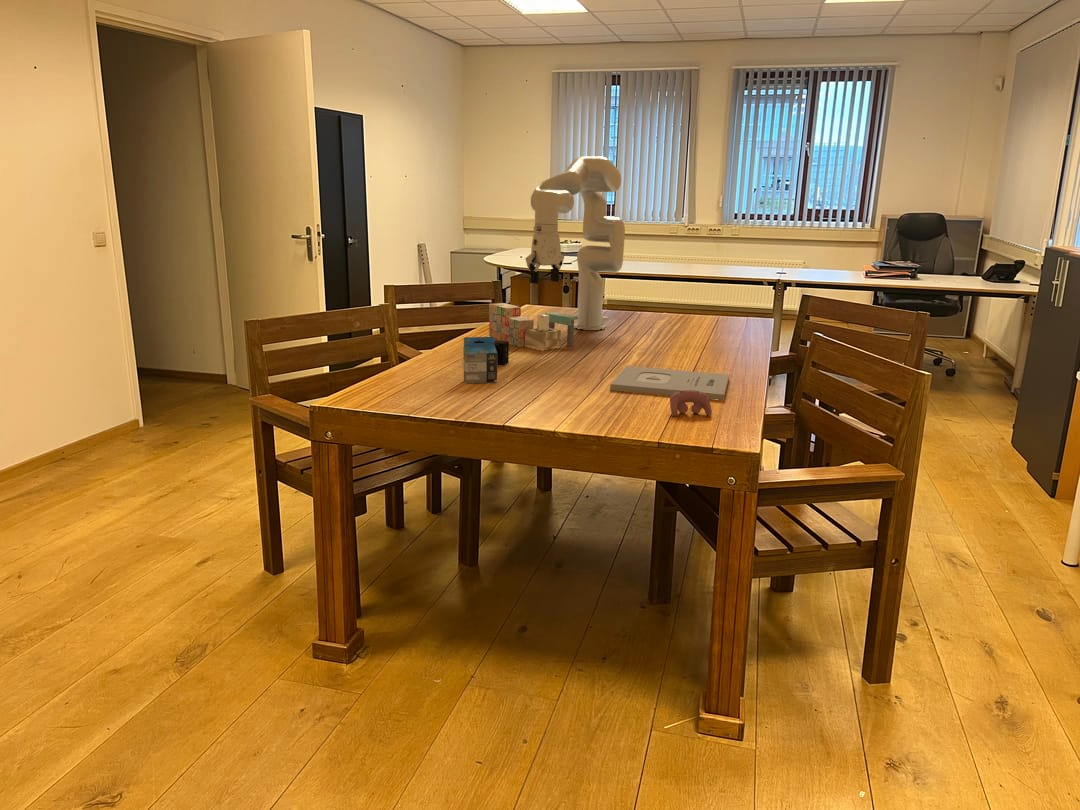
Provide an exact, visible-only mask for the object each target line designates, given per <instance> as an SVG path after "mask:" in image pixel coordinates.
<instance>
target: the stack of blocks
mask: <svg viewBox="0 0 1080 810" xmlns="http://www.w3.org/2000/svg"><path fill="white" fill-rule="evenodd" d="M488 307H489V308H488V309H489V310H488V311H489V312H488V317H489V319H488V321H489V326H488V327H489V329H488V332H489V334H488V335H489V336H490V337H495V340H496V339H497V340H500V341H508V342H509V346H513V347H515V346H516V348H524V347H523V346H525V330H527V329H534V326H535V324H534V323H535V322H534V321H535V320H534V318H533V319H532V318H529V317H526V316H522V314H521V310H522V309H521V308H522V307H521V306H519V305H514V304H510V303H506V302H505V303H504V302H495V303H488ZM489 336H488V337H489Z"/></svg>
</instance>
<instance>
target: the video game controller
mask: <svg viewBox="0 0 1080 810" xmlns="http://www.w3.org/2000/svg"><path fill="white" fill-rule="evenodd" d="M686 403H693V404H692V406H691V408H690V410H691V413H692V412H693V413H692V414H694V413H698V414H699V413H701V410H702V409H703V410H704V412H705V415H706V416H707V415H708V416H711V417H712V414H713V413H712V412H713V410H712V404H711V400H709V398H708V396H707V395H706V394H705V393H704V392H699V391H696V390H683V391H679V392H676V393H674V394H673V395H672V396H669V405H670V412H671V415H672V416H673V417H674V416H676V417H677V416H678V412H679V414H681V413H684V414H686V413H687V412H688V410H689V406H688V405H687V404H686ZM708 416H707V417H708Z"/></svg>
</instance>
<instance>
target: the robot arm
mask: <svg viewBox="0 0 1080 810" xmlns="http://www.w3.org/2000/svg"><path fill="white" fill-rule="evenodd" d="M621 186H622V176H621V172H620V170H619V169H618V168H617V166H616V165H615V164H614V163H613V162H612V161H611V160H610V159H609V158H607V157H604V156H579V157H576V158H575V159H574V160H573V161H571V163H570V164H569V165H568V167H567V168H566V169H565V170H564V171H563V172H562V173H559V174H557V175H555V176H552V177H550V178H547V179H545V180H543V181H541V182H540V183H539V184H538V185H537V186H536V187H535V189H534V190H533V192H532V193H531V196H530V207H531V208H532V210H533V211H534V226H533V230H534V233H533V235H532V240H531V241H532V242H531V248H530V249H531V252H530V254H528V255H527V256H526V257H525V259H524V260H525V262H526V266H527V267H528V270H529V272H530V276H529V278H530V280H529V282H530V284H535V285H538V284H539V276H540V272H539V271H538V270H539V269H540V267H541V266H550V267H551V269H550V282H555V283H558V282H559V281H560V270H561V268H562V266H563V264H564V263H563V262H564V259H565V255H563V253H562V250H561V247H562V246H561V237H560V234H559V233H558V232H559V231H558V228H559V227H558V224H559V223H558V222H559V214H563V215H564V214H567V213H569V212H571V211H572V209H573V207H574V204H575V200H574V195H577V194H579V193H580V195H581V198H582V200H583V219H582V237H583V238H584V240H586V241H588V242H591V243H604V244H605V243H607V244H609V245H610V246H605V245H603V246H602V245H593V244H592V245H583V246H582V247H580V248H579V249H578V251H577V254H576V263H577V269H578V289H577V291H578V293H577V294H578V295H577V312H576V313H577V314H576V316H578V320H576V323H575V322H574V329H576V328H577V330H580V329H583V330H582V331H601V330H600V329H602V330H605V329H606V325H605V324H604V322H609V320H610V318H609V317H608V316H603V299H604V298H603V296H604V281H603V278H602V276H601V275H600V273H599V272H601V273H617V272H620V270H621V269H622V266H623V263H624V251H625V237H626V234H625V233H626V228H625V223H624V220H623V219H622V218H620V217H615V216H607V208H608V207H607V200H606V197H605V196H604V195H603V194H602V193H615V192H617V191H618V190H619V189H620V187H621ZM604 328H605V329H604Z"/></svg>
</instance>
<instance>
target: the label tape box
mask: <svg viewBox="0 0 1080 810" xmlns="http://www.w3.org/2000/svg"><path fill="white" fill-rule="evenodd" d="M478 340H480V341H484V343H474V342H475V341H478ZM495 340H496V339H495V337H489V336H471V337H470V336H469V337H468V336H467V337H466V336H465V337H463V381H465V382H466V383H468V384H483V383H487V384H488V382H489V383H498V365H497V351H496V348H495V345H494V341H495ZM465 382H464V383H465ZM466 383H465V384H466Z"/></svg>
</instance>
